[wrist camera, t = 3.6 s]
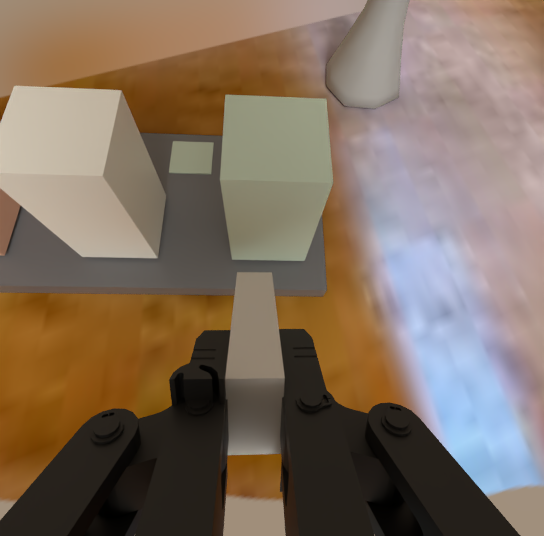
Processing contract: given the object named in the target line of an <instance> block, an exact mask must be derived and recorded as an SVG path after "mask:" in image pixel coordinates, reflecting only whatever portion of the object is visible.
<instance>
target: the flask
mask: <svg viewBox="0 0 544 536" xmlns="http://www.w3.org/2000/svg"><path fill="white" fill-rule="evenodd" d="M408 4H409V0H368V1H367V3H366V5H365V7H364V9H363V11H362V12H361V14H360V15H359V17H358V18H357V20H356V22H355V23H354V25H353V26H352V28H351V29H350V31H349V32H348V34H347V36H346V37H345V38H344V40H343V41H342V43H341V44H340V46H339V47H338V48H337V50H336V51H335V53H334V54H333V56H332V57H331V59H330V60H329V62H328V63H327V67H326V86H327V87H328V88H329V90H330V91H331V92H332V93H333V94H334V95H335V96H336V97H337V98H338V99H339V100H340V101H341V103H342V104H343V105H344V106H351V107H361V108H372V109H376V108H378V107H380V106H382V105H384V104H386V103H388V102H390V101H392V100H394V99H396V98H398V97H399V87H400V67H401V53H402V41H403V30H404V22H405V17H406V13H407V8H408Z"/></svg>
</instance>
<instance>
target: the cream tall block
mask: <svg viewBox="0 0 544 536" xmlns="http://www.w3.org/2000/svg"><path fill="white" fill-rule="evenodd" d="M0 188H1V189H2V190H3V191H4V192H5V193H7V194H8V195H9V196H10V197H11V198H12V199H14V200H15V201H16V202H17V203H18V204H20V205H21V206H22V207H23V208H24V209H26V210H27V211H28V212H29V213H30V214H32V215H33V216H34V217H35V218H36V219H38V220H39V221H40V222H41V223H42V224H43V225H45V226H46V227H47V228H48V229H49V230H51V231H52V232H53V233H54V234H55V235H57V236H58V237H59V238H60V239H61V240H63V241H64V242H65V243H66V244H67V245H69V246H70V247H71V248H72V249H73V250H74V251H76V252H77V253H78V254H79V255H80V256H82V257H112V258H158V254H159V246H160V239H161V231H162V224H163V216H164V208H165V201H166V194H165V191H164V189H163V187H162V184H161V182H160V180H159V177H158V175H157V173H156V170H155V168H154V166H153V163H152V161H151V158H150V156H149V154H148V151H147V149H146V147H145V144H144V142H143V140H142V137H141V135H140V133H139V130H138V128H137V126H136V123H135V121H134V118H133V116H132V114H131V111H130V109H129V107H128V104H127V102H126V100H125V97H124V95H123V93H122V90H104V89H80V88H57V87H33V86H14V88H13V91H12V93H11V96H10V99H9V101H8V104H7V107H6V109H5V112H4V114H3V117H2V120H1V122H0Z"/></svg>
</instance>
